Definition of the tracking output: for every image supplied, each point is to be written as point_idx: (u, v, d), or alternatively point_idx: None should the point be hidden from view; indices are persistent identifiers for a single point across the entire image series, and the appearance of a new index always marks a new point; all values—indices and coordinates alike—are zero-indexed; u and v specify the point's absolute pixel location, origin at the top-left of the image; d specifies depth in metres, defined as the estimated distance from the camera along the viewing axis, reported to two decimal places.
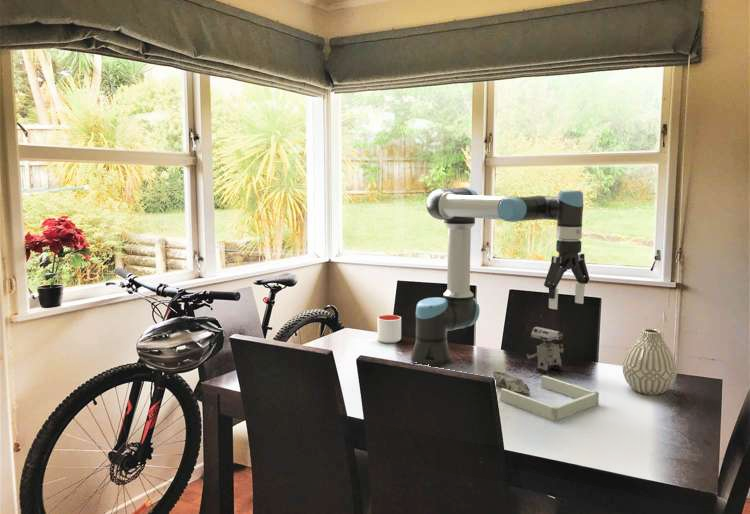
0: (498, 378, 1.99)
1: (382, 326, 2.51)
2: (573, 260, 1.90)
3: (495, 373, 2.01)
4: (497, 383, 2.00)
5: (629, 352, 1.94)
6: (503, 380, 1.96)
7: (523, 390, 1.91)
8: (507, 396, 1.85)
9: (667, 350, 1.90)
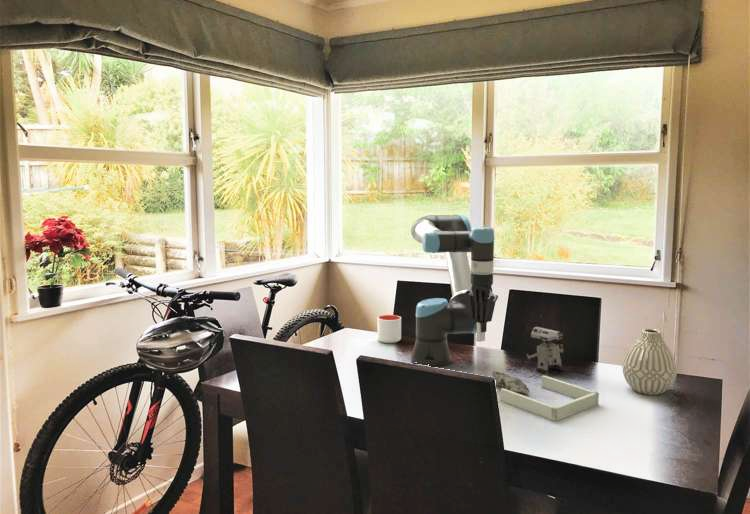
0: (497, 378, 1.99)
1: (382, 326, 2.51)
2: None
3: (494, 373, 2.01)
4: (496, 383, 2.00)
5: (629, 352, 1.94)
6: (502, 380, 1.95)
7: (522, 390, 1.91)
8: (507, 396, 1.85)
9: (667, 350, 1.90)
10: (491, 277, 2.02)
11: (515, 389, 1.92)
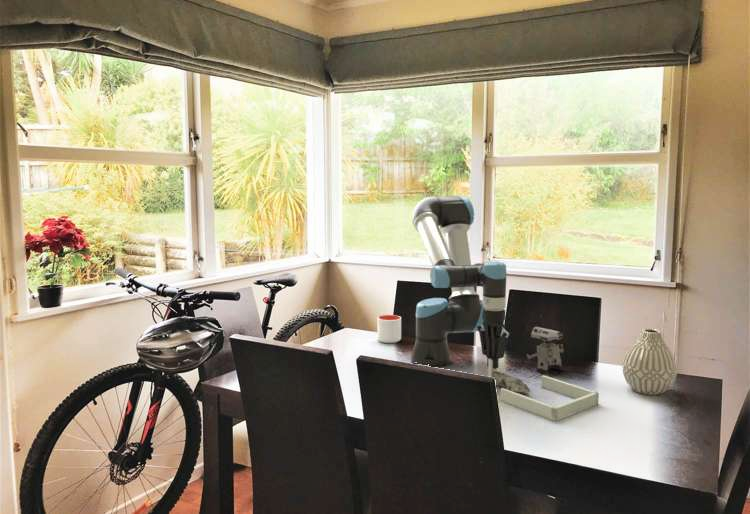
0: (498, 378, 1.98)
1: (382, 326, 2.51)
2: None
3: (495, 373, 2.01)
4: (497, 383, 2.00)
5: (629, 352, 1.94)
6: (503, 380, 1.95)
7: (523, 390, 1.91)
8: (507, 396, 1.85)
9: (667, 350, 1.90)
10: (503, 313, 1.99)
11: (516, 389, 1.91)
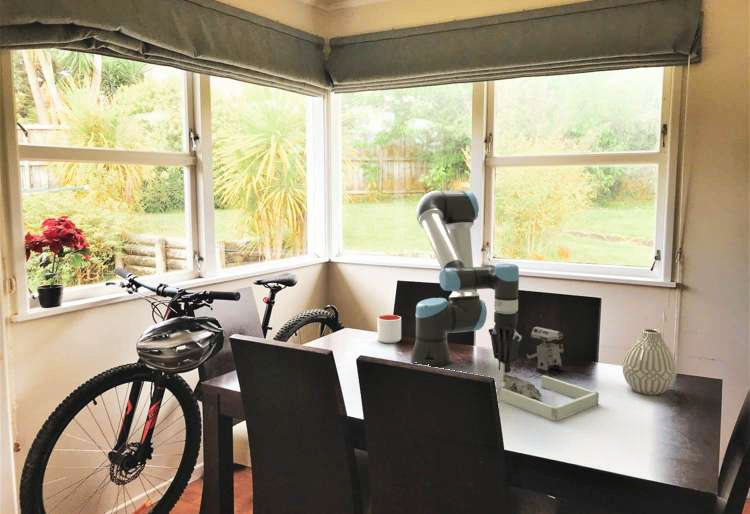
0: (509, 382, 1.94)
1: (382, 326, 2.51)
2: None
3: (507, 377, 1.97)
4: (508, 387, 1.96)
5: (629, 352, 1.94)
6: (514, 384, 1.91)
7: (534, 395, 1.86)
8: (507, 396, 1.85)
9: (667, 350, 1.90)
10: (516, 316, 1.94)
11: (527, 394, 1.87)
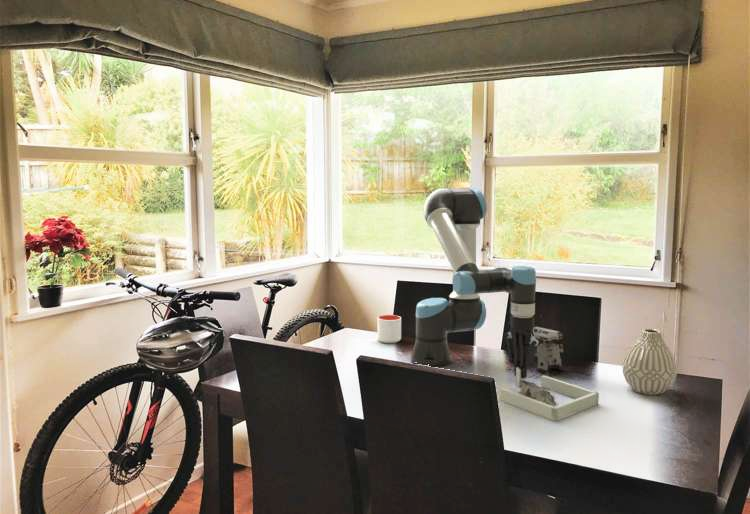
0: (524, 388, 1.89)
1: (382, 326, 2.51)
2: None
3: (522, 382, 1.92)
4: (524, 393, 1.91)
5: (629, 352, 1.94)
6: (528, 390, 1.86)
7: (548, 402, 1.81)
8: (507, 396, 1.85)
9: (667, 350, 1.90)
10: (532, 320, 1.89)
11: (540, 401, 1.81)
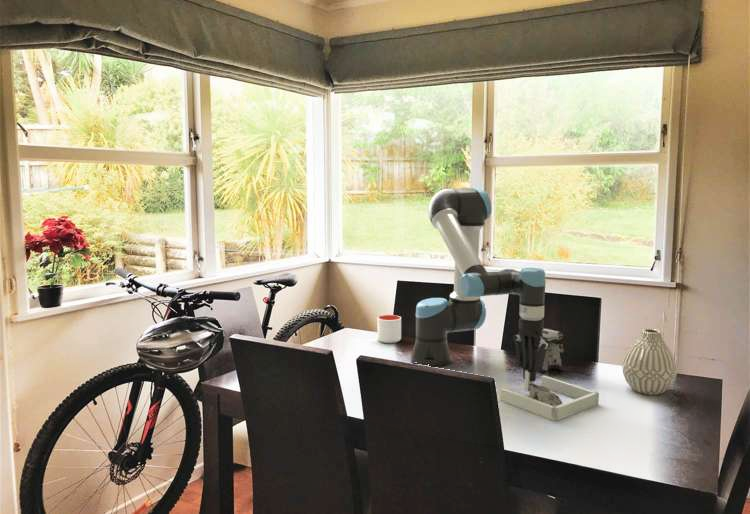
0: (532, 391, 1.86)
1: (382, 326, 2.51)
2: None
3: (531, 386, 1.89)
4: (532, 396, 1.88)
5: (629, 352, 1.94)
6: (536, 394, 1.83)
7: None
8: (507, 396, 1.85)
9: (667, 350, 1.90)
10: (542, 323, 1.86)
11: None
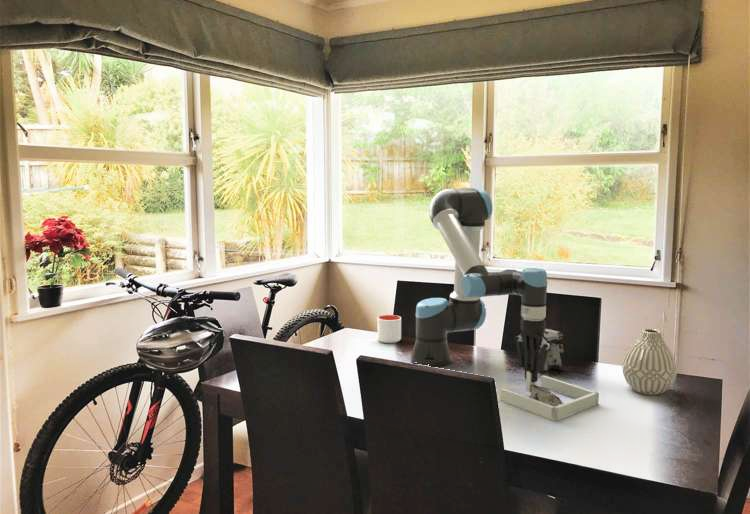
0: (533, 392, 1.86)
1: (382, 326, 2.51)
2: None
3: (532, 387, 1.88)
4: (533, 397, 1.87)
5: (629, 352, 1.94)
6: (536, 395, 1.82)
7: None
8: (507, 396, 1.85)
9: (667, 350, 1.90)
10: (544, 323, 1.86)
11: None
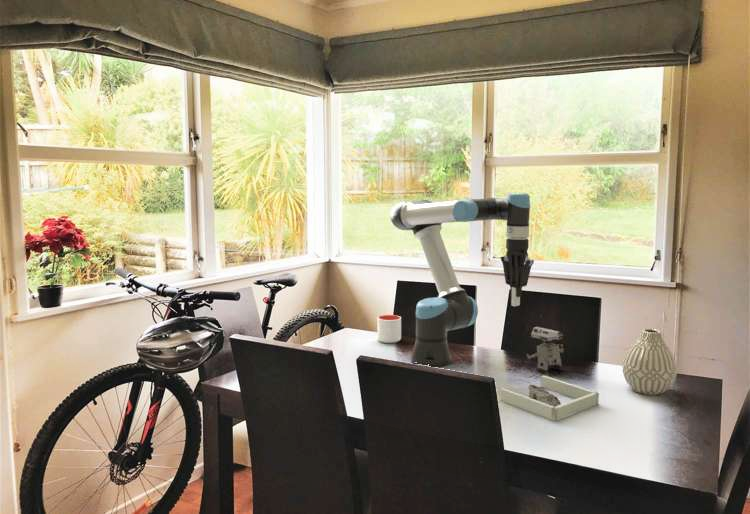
0: (531, 392, 1.86)
1: (382, 326, 2.51)
2: None
3: (530, 387, 1.88)
4: (532, 397, 1.87)
5: (629, 352, 1.94)
6: (534, 395, 1.82)
7: None
8: (507, 396, 1.85)
9: (667, 350, 1.90)
10: (527, 242, 2.05)
11: None
